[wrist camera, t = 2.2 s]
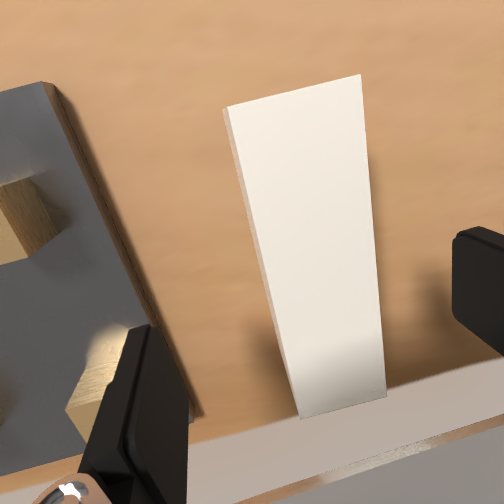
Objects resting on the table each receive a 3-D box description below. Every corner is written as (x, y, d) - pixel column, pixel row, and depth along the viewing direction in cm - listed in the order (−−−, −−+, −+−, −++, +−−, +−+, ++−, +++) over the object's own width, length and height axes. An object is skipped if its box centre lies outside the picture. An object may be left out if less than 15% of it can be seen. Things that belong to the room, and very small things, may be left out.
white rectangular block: (312, 88, 14) (360, 74, 10) (344, 329, 19) (387, 396, 15) (222, 110, 14) (227, 107, 10) (279, 347, 19) (300, 419, 15)
